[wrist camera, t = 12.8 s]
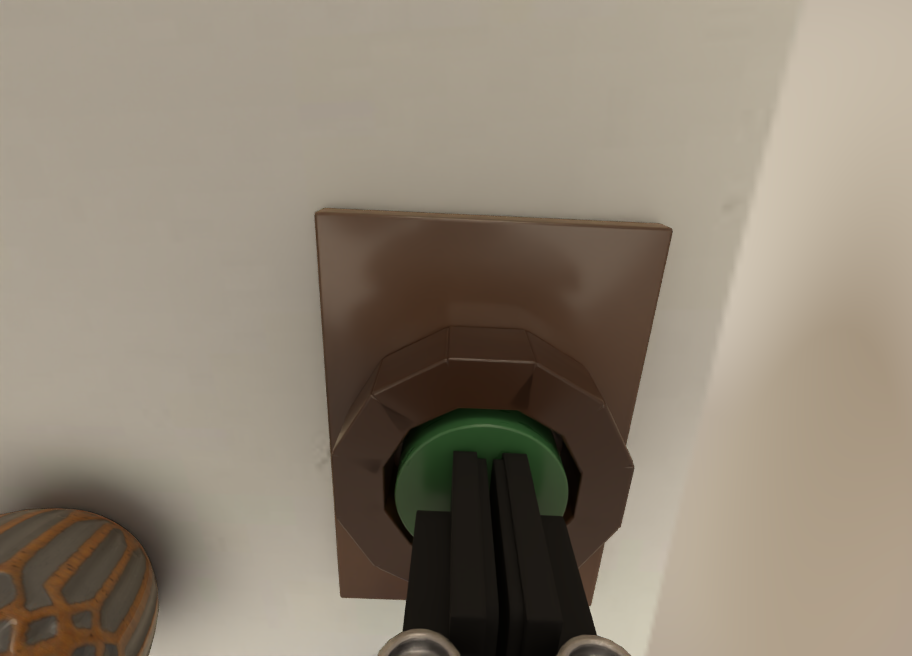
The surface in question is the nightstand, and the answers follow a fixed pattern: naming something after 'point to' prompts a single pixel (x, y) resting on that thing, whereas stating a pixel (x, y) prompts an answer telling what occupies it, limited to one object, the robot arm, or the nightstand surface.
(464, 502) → the robot arm
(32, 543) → the vase
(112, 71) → the nightstand surface
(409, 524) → the light button
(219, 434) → the nightstand surface
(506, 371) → the button block
